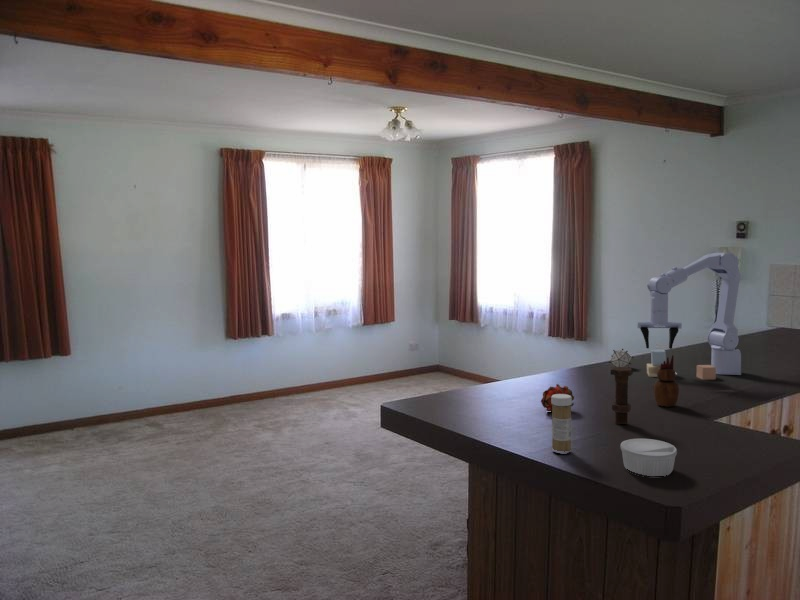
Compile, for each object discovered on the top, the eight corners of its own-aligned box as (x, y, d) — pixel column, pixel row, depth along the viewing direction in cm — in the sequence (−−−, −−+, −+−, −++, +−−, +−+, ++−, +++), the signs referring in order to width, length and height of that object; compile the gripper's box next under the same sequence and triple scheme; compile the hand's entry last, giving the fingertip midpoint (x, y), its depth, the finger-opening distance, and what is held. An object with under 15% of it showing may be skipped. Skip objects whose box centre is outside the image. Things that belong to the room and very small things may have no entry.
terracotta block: (709, 378, 220) (709, 364, 219) (715, 381, 215) (715, 367, 215) (696, 379, 220) (696, 365, 219) (702, 381, 215) (702, 367, 215)
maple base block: (667, 372, 227) (667, 363, 226) (670, 376, 220) (669, 366, 220) (646, 373, 228) (646, 363, 228) (649, 376, 222) (648, 367, 222)
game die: (626, 380, 237) (639, 361, 231) (605, 372, 237) (617, 354, 231) (624, 365, 244) (636, 346, 238) (603, 357, 244) (615, 339, 238)
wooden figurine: (677, 404, 186) (678, 354, 185) (679, 408, 181) (680, 357, 180) (653, 402, 189) (653, 353, 187) (654, 407, 183) (654, 356, 182)
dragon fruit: (574, 413, 184) (547, 427, 177) (554, 393, 189) (527, 405, 182) (586, 394, 179) (558, 407, 172) (565, 374, 184) (537, 386, 177)
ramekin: (665, 484, 125) (666, 458, 125) (611, 472, 133) (611, 447, 132) (684, 468, 133) (684, 444, 133) (632, 457, 141) (632, 435, 140)
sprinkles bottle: (557, 447, 149) (557, 392, 148) (575, 451, 146) (575, 395, 145) (547, 452, 145) (547, 396, 144) (565, 456, 142) (565, 398, 141)
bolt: (628, 427, 164) (629, 371, 162) (609, 425, 166) (609, 369, 165) (633, 422, 169) (633, 367, 167) (614, 419, 171) (614, 365, 170)
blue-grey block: (664, 363, 226) (664, 349, 226) (666, 365, 222) (665, 351, 222) (651, 363, 228) (651, 349, 227) (652, 365, 224) (652, 352, 223)
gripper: (638, 311, 221) (638, 349, 222) (683, 311, 217) (682, 350, 218) (636, 309, 228) (636, 346, 229) (679, 309, 224) (679, 347, 225)
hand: (658, 348), depth 224 cm, fingers open, 7 cm apart
